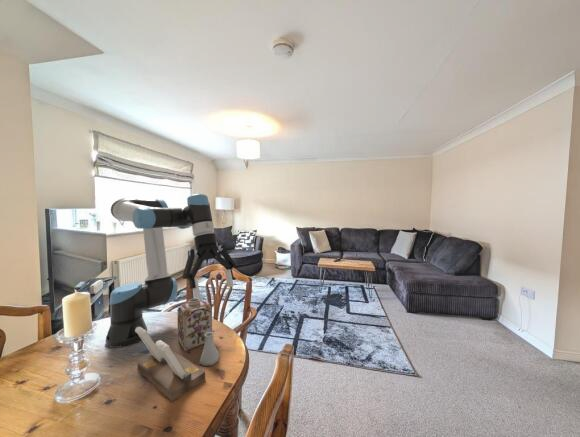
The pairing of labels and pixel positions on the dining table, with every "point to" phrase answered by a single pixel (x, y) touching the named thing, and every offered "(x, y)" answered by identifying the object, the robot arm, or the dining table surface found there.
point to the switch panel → (171, 375)
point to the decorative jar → (194, 323)
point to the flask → (209, 351)
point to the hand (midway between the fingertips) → (215, 291)
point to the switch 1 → (149, 343)
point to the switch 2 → (170, 358)
